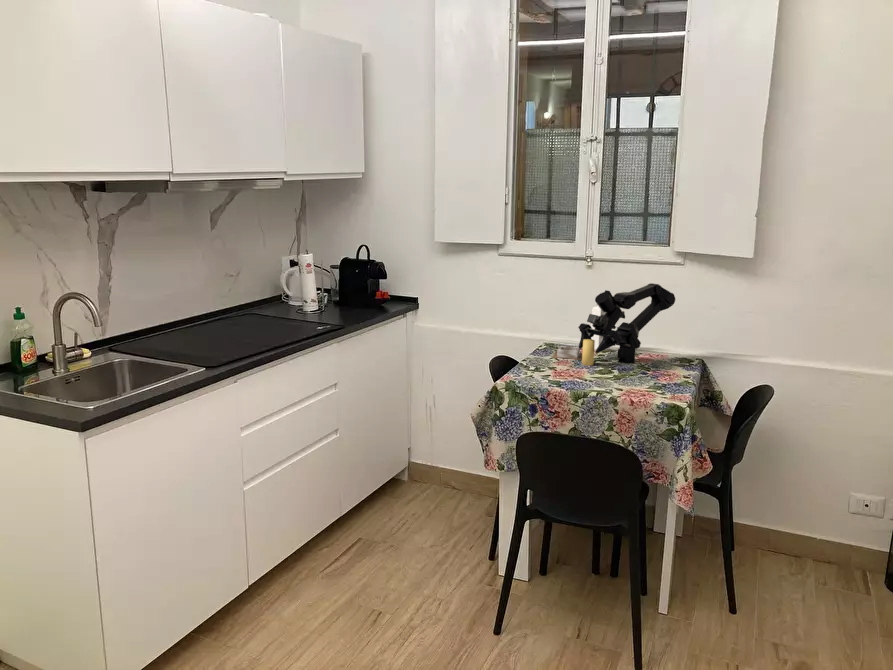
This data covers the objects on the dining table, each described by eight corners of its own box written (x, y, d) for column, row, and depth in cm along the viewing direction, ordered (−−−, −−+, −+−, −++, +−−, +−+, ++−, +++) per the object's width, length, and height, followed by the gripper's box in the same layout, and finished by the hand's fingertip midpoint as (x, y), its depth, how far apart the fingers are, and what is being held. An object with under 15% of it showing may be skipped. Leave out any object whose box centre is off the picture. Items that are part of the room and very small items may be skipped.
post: (589, 366, 279) (590, 338, 277) (595, 368, 275) (597, 341, 273) (579, 367, 278) (581, 339, 276) (585, 369, 274) (587, 341, 272)
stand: (584, 357, 294) (585, 346, 293) (581, 363, 283) (581, 352, 282) (555, 354, 298) (556, 344, 297) (551, 361, 286) (551, 350, 286)
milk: (609, 352, 304) (613, 301, 299) (597, 353, 301) (601, 302, 297) (600, 349, 309) (604, 299, 305) (589, 350, 307) (592, 300, 302)
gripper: (582, 303, 282) (560, 333, 278) (617, 310, 267) (595, 342, 263) (596, 320, 288) (574, 350, 284) (631, 328, 273) (609, 360, 269)
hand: (587, 350), depth 275 cm, fingers open, 9 cm apart
